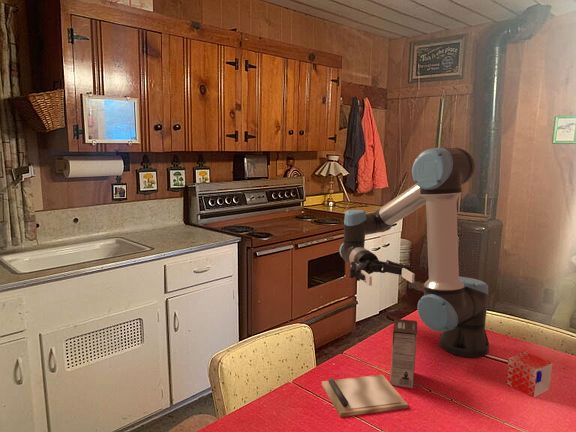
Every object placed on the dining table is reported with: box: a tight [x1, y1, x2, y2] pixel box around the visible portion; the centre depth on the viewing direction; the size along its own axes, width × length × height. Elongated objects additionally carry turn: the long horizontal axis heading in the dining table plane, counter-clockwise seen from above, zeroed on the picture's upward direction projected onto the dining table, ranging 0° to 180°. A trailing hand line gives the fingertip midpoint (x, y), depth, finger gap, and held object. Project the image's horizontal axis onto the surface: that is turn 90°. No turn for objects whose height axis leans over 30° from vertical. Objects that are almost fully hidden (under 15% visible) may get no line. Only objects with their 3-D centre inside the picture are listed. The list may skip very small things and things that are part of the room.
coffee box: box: [389, 318, 418, 389], centre depth 128 cm, size 9×6×16 cm
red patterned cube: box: [505, 351, 553, 398], centre depth 125 cm, size 8×8×8 cm
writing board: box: [321, 374, 409, 418], centre depth 120 cm, size 18×15×3 cm
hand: (392, 279), depth 134 cm, fingers open, 13 cm apart
